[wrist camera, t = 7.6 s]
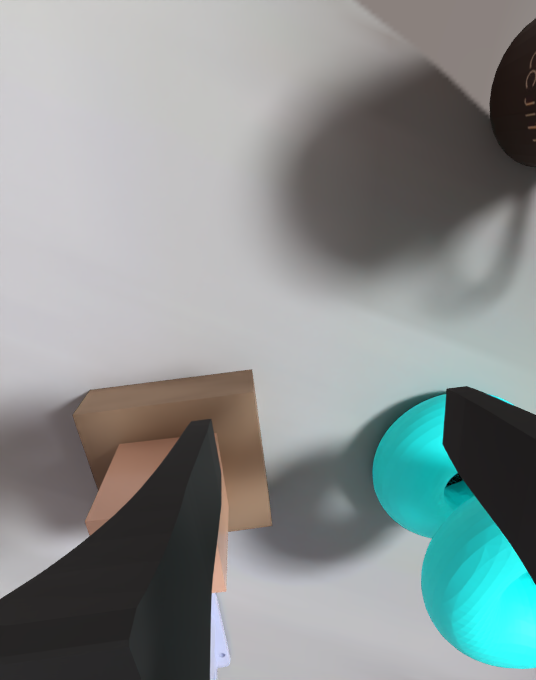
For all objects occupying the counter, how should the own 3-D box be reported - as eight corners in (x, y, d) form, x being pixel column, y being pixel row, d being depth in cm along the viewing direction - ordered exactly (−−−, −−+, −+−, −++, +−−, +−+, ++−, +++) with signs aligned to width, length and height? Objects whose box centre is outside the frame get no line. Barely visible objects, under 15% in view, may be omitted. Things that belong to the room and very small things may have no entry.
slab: (268, 488, 26) (272, 525, 23) (130, 507, 26) (117, 547, 23) (251, 365, 23) (253, 391, 20) (92, 386, 22) (72, 415, 20)
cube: (228, 506, 22) (226, 591, 18) (139, 517, 22) (114, 605, 18) (216, 433, 21) (210, 506, 16) (119, 444, 20) (84, 521, 16)
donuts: (739, 546, 15) (582, 696, 19) (551, 408, 25) (468, 525, 28) (532, 487, 14) (397, 666, 17) (412, 362, 23) (340, 493, 26)
